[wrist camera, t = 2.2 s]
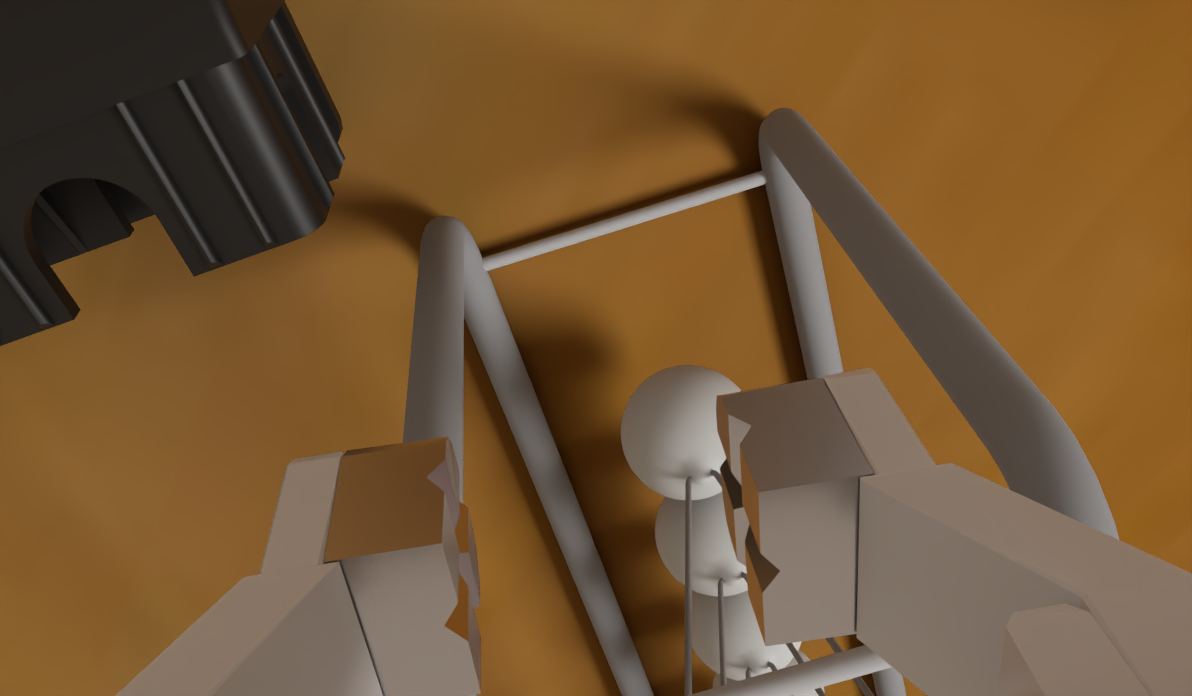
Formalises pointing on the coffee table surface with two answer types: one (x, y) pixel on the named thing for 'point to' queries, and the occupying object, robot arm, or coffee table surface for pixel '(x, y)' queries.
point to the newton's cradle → (688, 393)
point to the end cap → (153, 137)
